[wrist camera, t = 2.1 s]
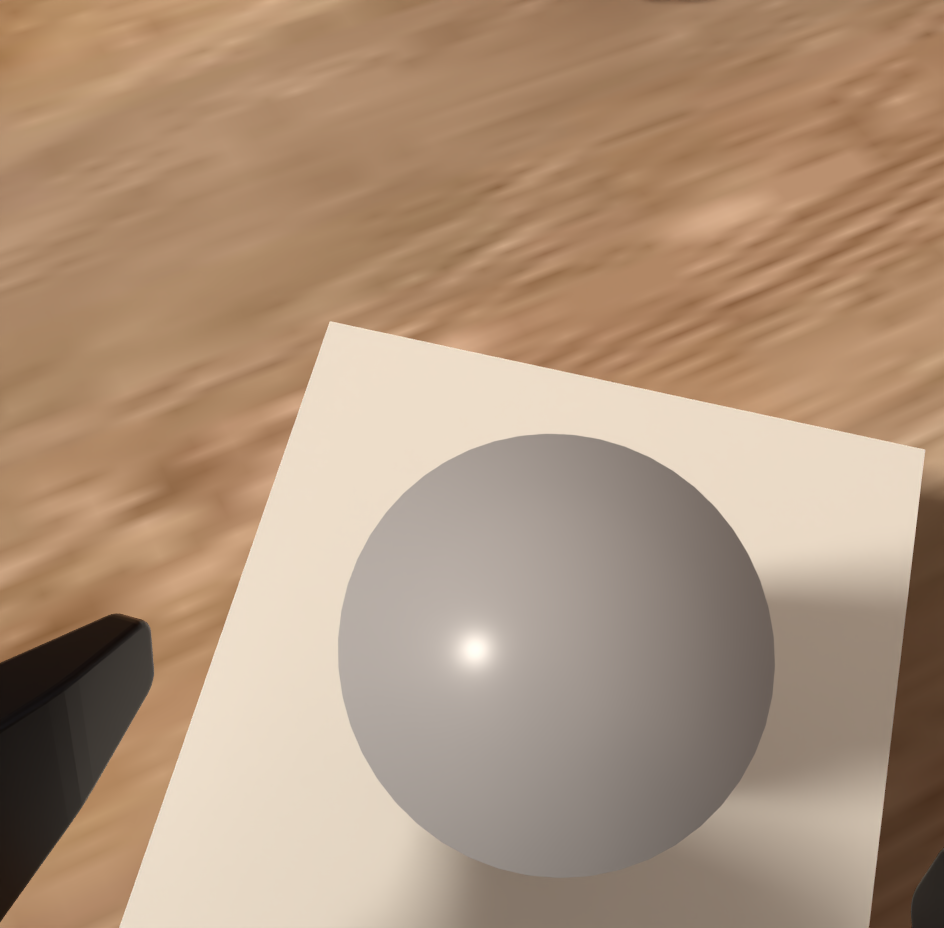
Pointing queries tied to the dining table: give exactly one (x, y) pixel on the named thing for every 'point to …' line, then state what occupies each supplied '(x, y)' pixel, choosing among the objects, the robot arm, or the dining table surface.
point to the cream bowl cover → (544, 663)
